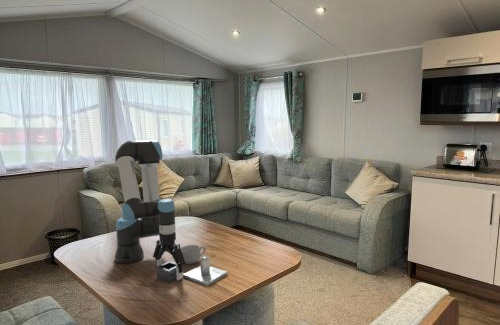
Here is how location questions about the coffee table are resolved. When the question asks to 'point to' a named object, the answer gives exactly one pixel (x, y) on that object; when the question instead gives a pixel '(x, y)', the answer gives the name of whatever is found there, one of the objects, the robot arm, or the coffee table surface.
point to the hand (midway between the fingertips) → (169, 275)
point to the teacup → (192, 253)
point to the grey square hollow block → (167, 272)
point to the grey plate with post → (205, 273)
